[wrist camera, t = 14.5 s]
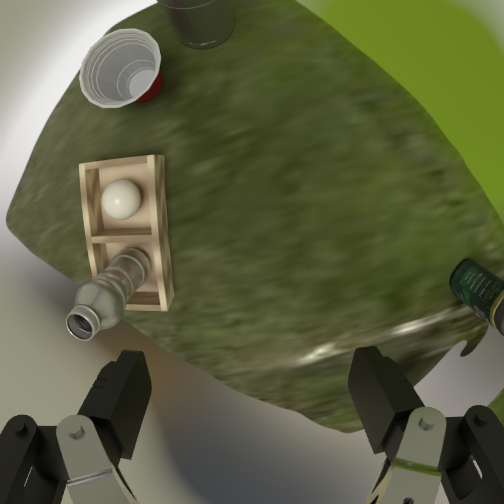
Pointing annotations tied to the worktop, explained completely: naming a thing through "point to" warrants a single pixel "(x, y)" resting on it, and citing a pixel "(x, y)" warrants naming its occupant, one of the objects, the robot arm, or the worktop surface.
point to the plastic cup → (121, 69)
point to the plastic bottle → (107, 294)
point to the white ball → (121, 199)
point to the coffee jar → (480, 292)
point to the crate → (130, 224)
